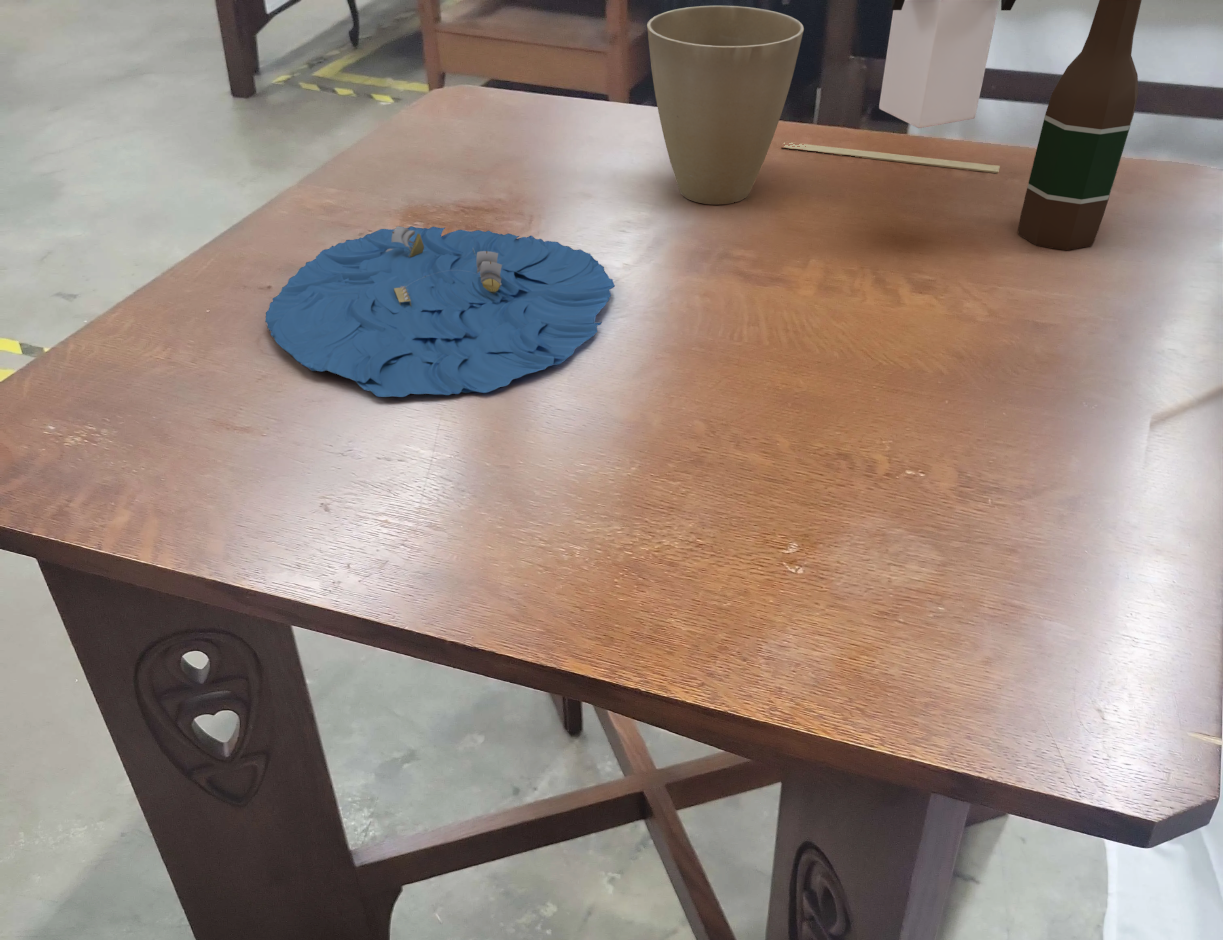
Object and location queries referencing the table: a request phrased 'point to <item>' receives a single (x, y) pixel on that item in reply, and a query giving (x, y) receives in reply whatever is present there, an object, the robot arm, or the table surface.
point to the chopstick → (899, 158)
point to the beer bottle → (1084, 134)
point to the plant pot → (721, 93)
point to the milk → (937, 60)
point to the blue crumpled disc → (439, 309)
